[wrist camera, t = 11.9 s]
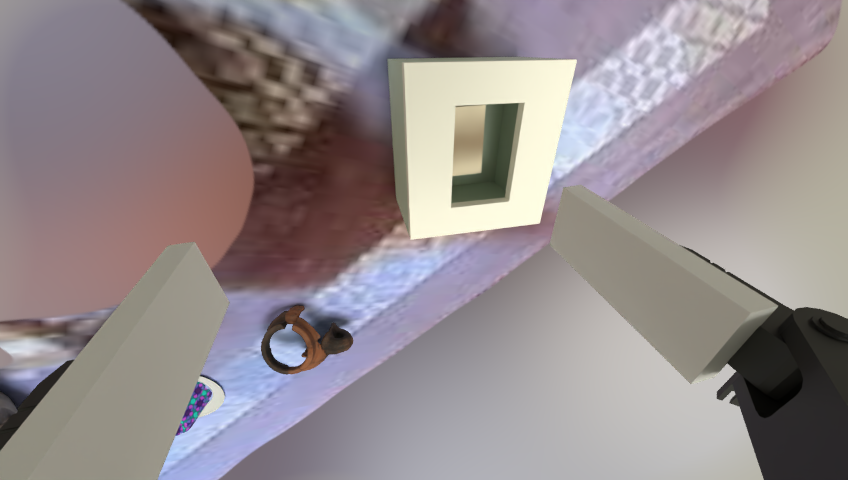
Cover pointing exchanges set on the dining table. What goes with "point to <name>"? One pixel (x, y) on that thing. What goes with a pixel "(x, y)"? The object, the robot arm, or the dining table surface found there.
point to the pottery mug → (315, 352)
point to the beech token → (468, 139)
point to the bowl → (6, 408)
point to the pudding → (201, 403)
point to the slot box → (502, 145)
